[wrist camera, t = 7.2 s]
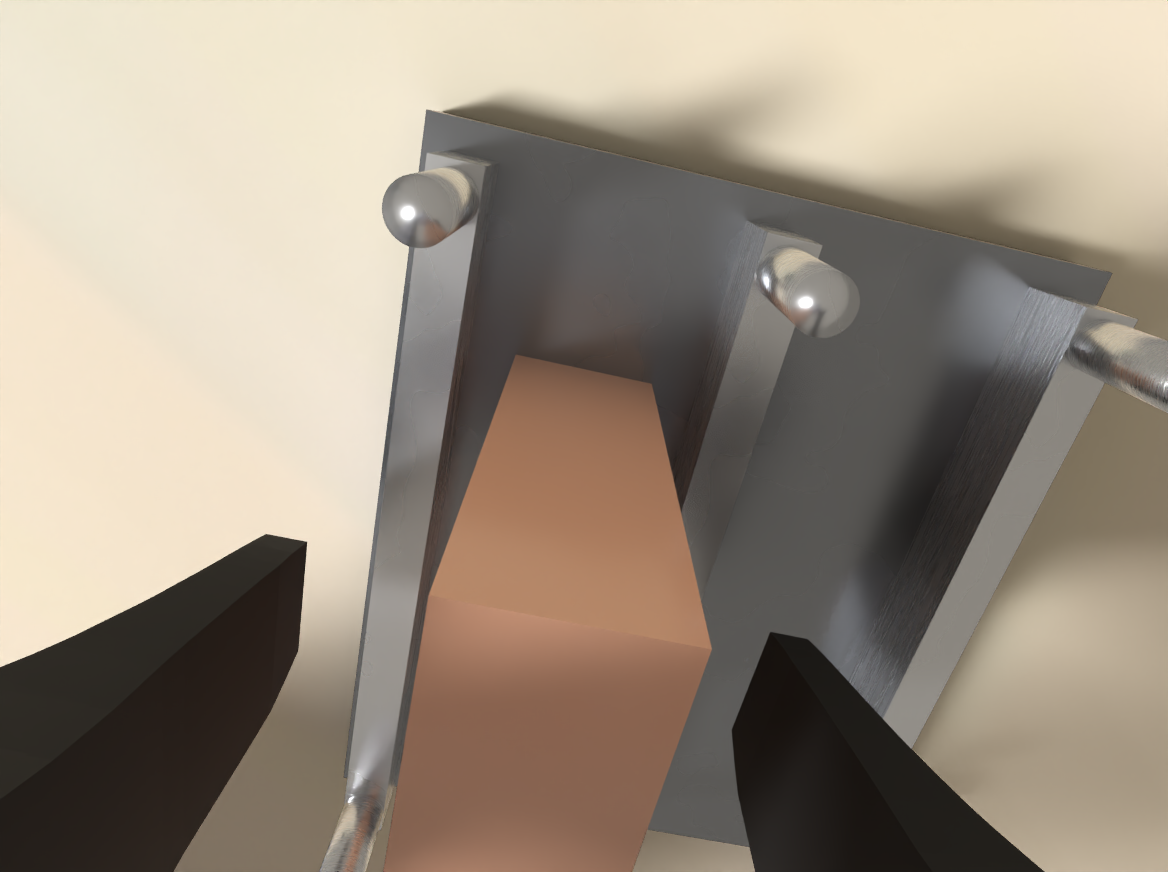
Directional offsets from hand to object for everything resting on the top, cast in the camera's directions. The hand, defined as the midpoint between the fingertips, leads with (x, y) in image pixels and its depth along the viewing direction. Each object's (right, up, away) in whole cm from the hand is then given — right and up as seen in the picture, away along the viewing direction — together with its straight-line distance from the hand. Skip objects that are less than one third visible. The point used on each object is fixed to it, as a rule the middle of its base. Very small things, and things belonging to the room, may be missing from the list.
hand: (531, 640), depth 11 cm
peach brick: (0, +1, +3) cm, 3 cm away
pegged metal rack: (+2, +1, +4) cm, 5 cm away
